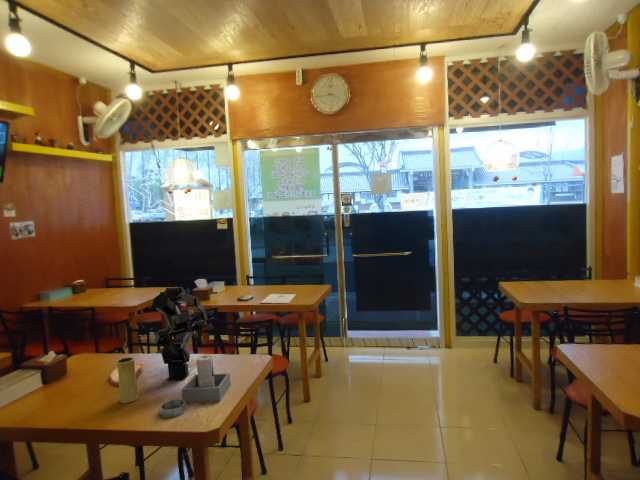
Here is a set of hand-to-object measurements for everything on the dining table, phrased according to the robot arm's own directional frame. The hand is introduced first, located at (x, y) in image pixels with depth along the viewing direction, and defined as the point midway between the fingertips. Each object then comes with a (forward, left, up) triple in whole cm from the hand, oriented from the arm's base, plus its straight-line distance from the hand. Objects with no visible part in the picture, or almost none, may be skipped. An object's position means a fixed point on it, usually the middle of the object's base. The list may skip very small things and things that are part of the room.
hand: (189, 350), depth 156 cm
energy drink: (+7, -6, -13) cm, 16 cm away
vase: (-20, -9, -14) cm, 26 cm away
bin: (+7, -6, -14) cm, 17 cm away
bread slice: (-31, +13, -14) cm, 37 cm away
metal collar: (0, -19, -14) cm, 23 cm away
